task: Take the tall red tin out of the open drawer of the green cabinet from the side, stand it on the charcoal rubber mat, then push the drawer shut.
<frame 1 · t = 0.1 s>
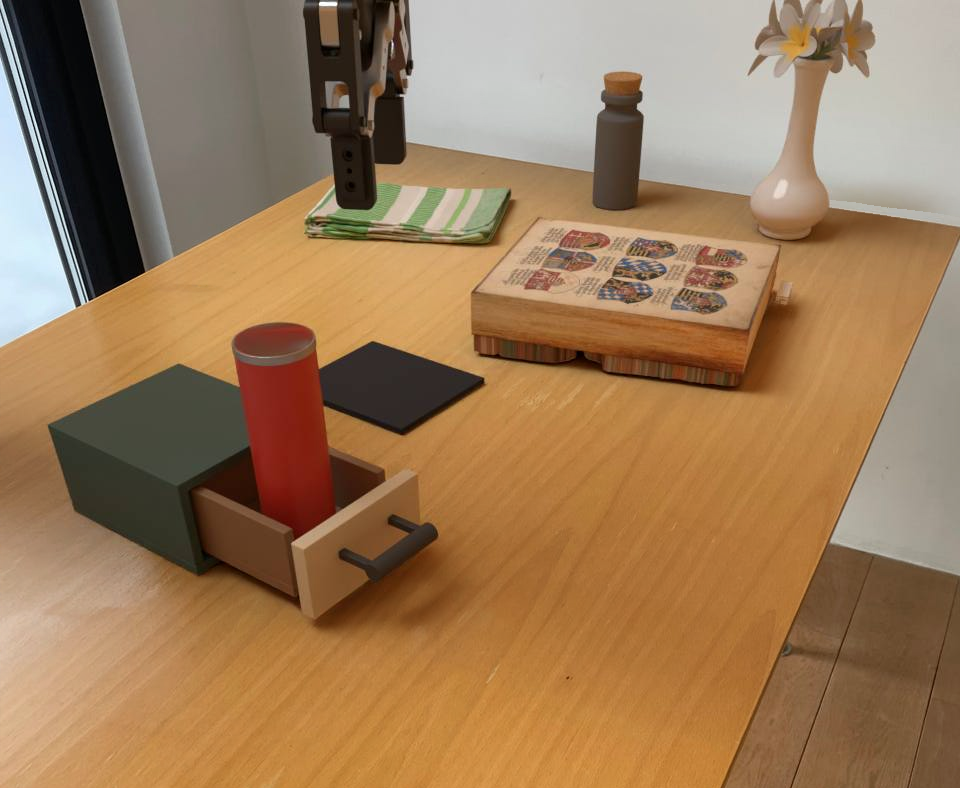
hand: (373, 184, 62), 26 cm above the table, tool pointing down, fingers open, 8 cm apart
mat: (386, 387, 98), on the table
wooden box: (639, 325, 108), on the table
bottle: (614, 204, 137), on the table
cabinet: (197, 505, 83), on the table
drawer: (316, 521, 74), point 4 cm above the table, slide at 10.0 cm, touching tin
flower vase: (780, 231, 128), on the table
dish towel: (411, 220, 133), on the table
tin: (302, 534, 76), point 2 cm above the table, touching drawer
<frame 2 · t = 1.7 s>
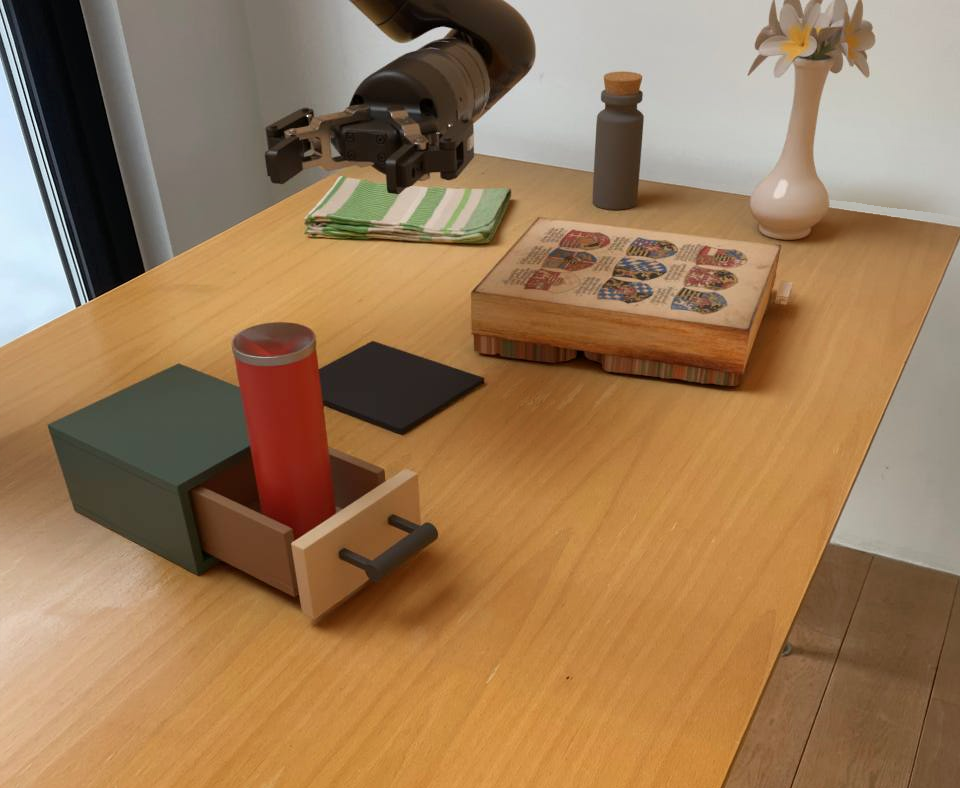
hand: (331, 173, 70), 24 cm above the table, tool horizontal, fingers open, 8 cm apart
nothing on the table moved.
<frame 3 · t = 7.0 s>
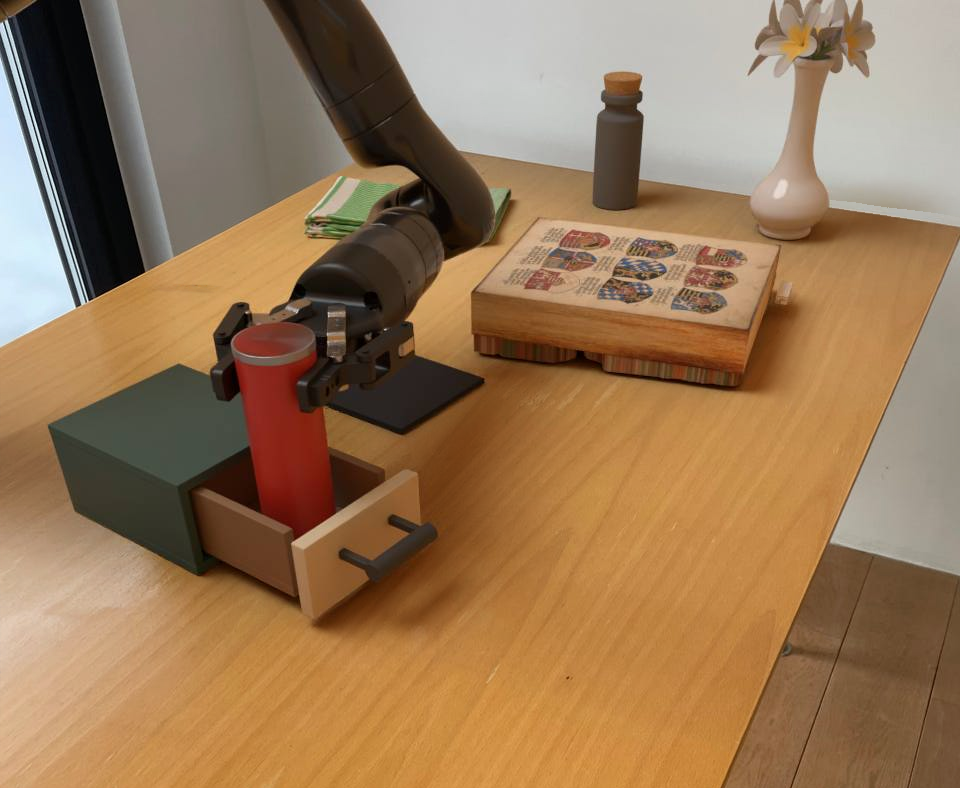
hand: (261, 393, 66), 15 cm above the table, tool horizontal, fingers closed on tin, 5 cm apart
tin: (302, 534, 76), point 2 cm above the table, touching drawer, gripper
everything else where it was.
when the fingers open (13 cm above the table, at t = 17.5 s): tin stays where it is, resting on mat.
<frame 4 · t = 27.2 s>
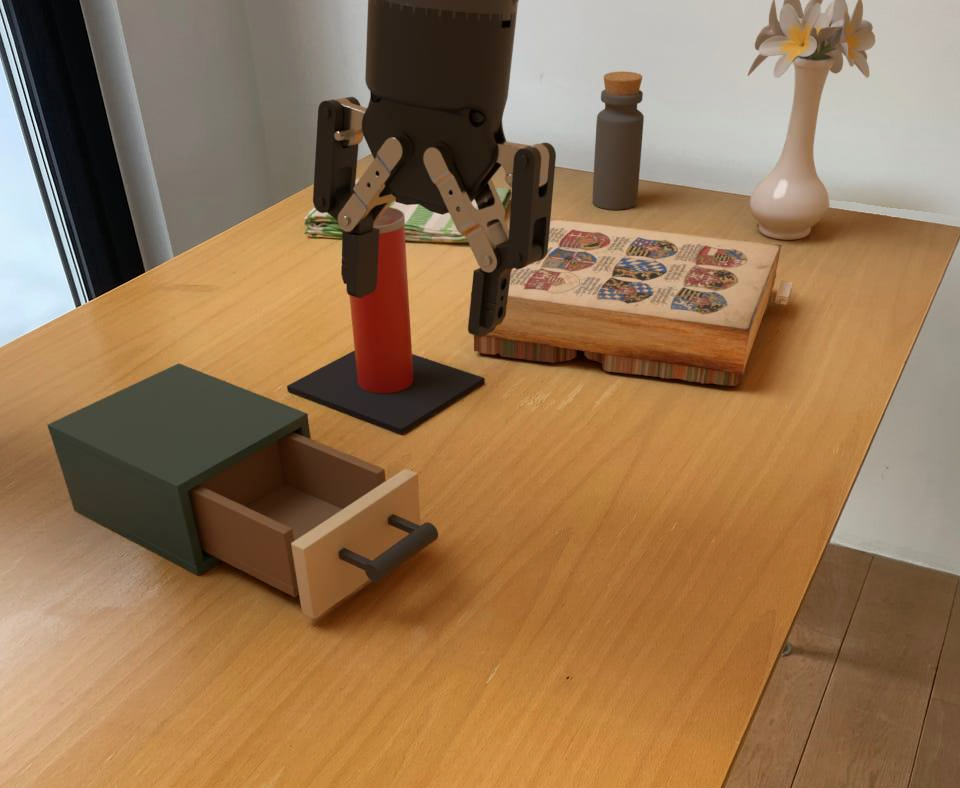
hand: (420, 312, 62), 20 cm above the table, tool pointing down, fingers open, 8 cm apart
drawer: (316, 521, 74), point 4 cm above the table, slide at 10.0 cm
tin: (385, 381, 97), point 1 cm above the table, touching mat
everything else where it was.
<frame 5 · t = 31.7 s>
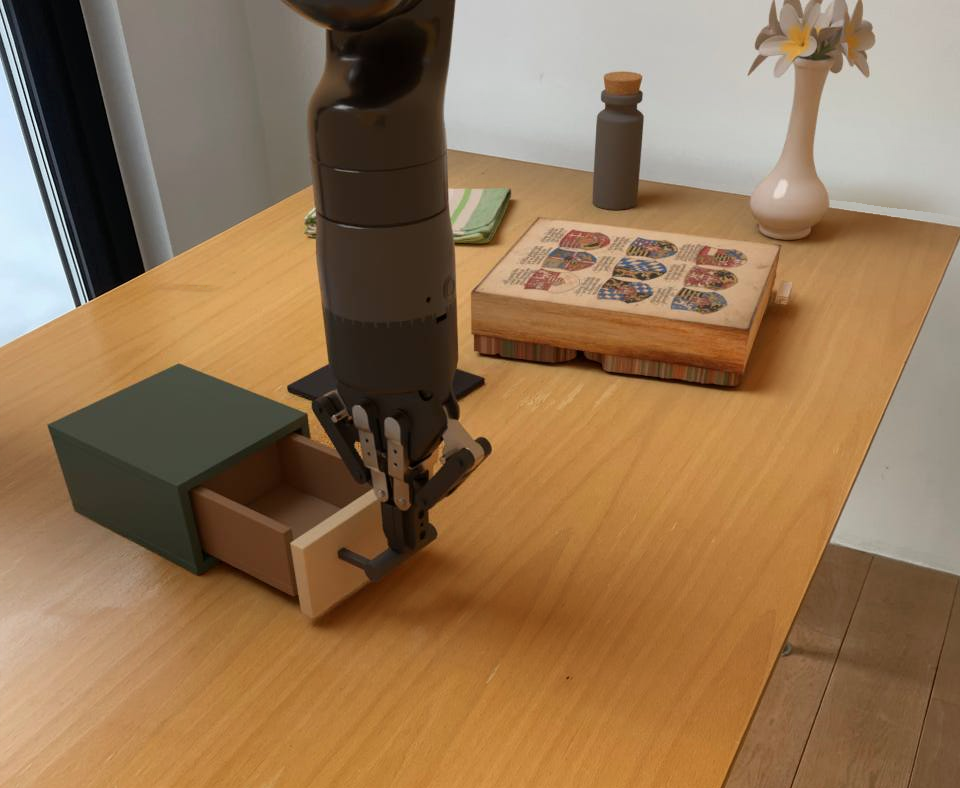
hand: (407, 546, 69), 5 cm above the table, tool pointing down, fingers closed
drawer: (316, 521, 74), point 4 cm above the table, slide at 9.9 cm, touching gripper
everything else where it was.
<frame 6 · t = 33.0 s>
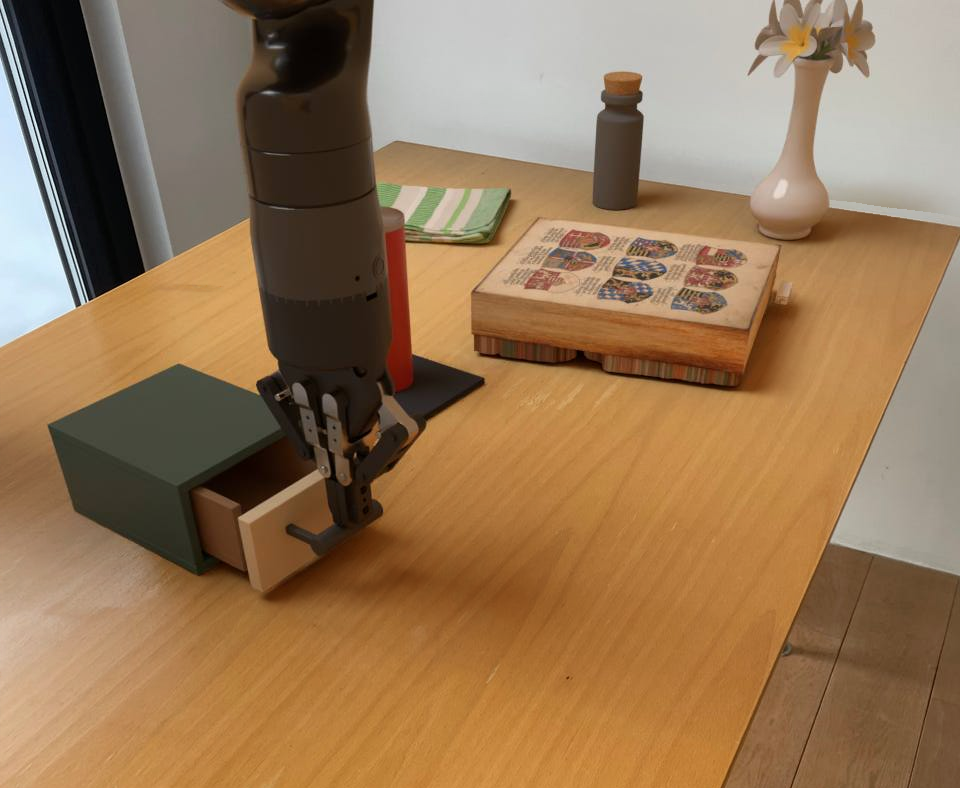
hand: (352, 521, 71), 5 cm above the table, tool pointing down, fingers closed
drawer: (267, 499, 76), point 4 cm above the table, slide at 5.0 cm, touching gripper
everything else where it was.
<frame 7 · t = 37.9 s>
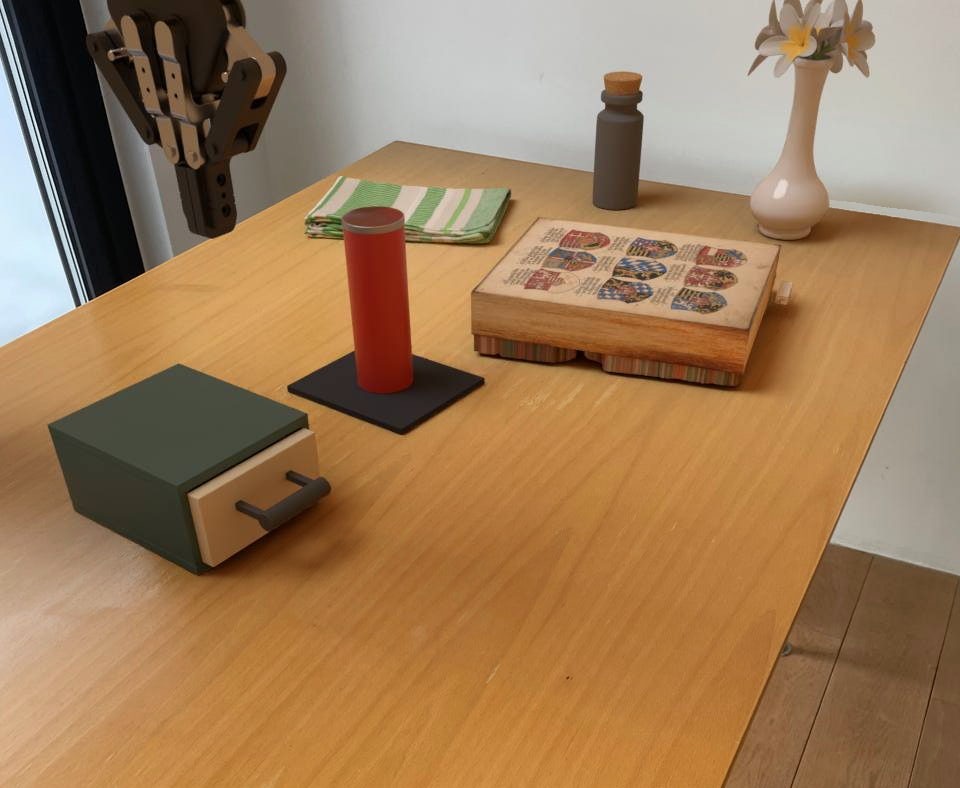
hand: (213, 232, 58), 25 cm above the table, tool pointing down, fingers closed
drawer: (220, 478, 79), point 4 cm above the table, slide at 0.0 cm
everything else where it was.
at the end: tin inside the target area on the mat (0.1 cm from its centre), point 0.6 cm above the mat's base; tin tilted 0°; drawer slide at 0.0 cm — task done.
